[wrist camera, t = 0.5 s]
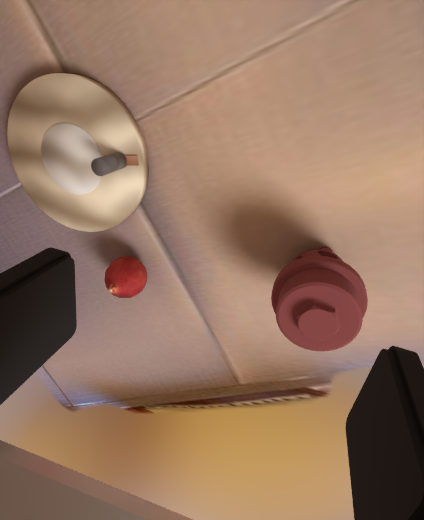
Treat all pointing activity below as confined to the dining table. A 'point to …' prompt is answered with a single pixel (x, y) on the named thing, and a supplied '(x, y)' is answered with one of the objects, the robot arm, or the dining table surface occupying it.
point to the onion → (125, 277)
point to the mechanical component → (319, 301)
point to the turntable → (77, 151)
